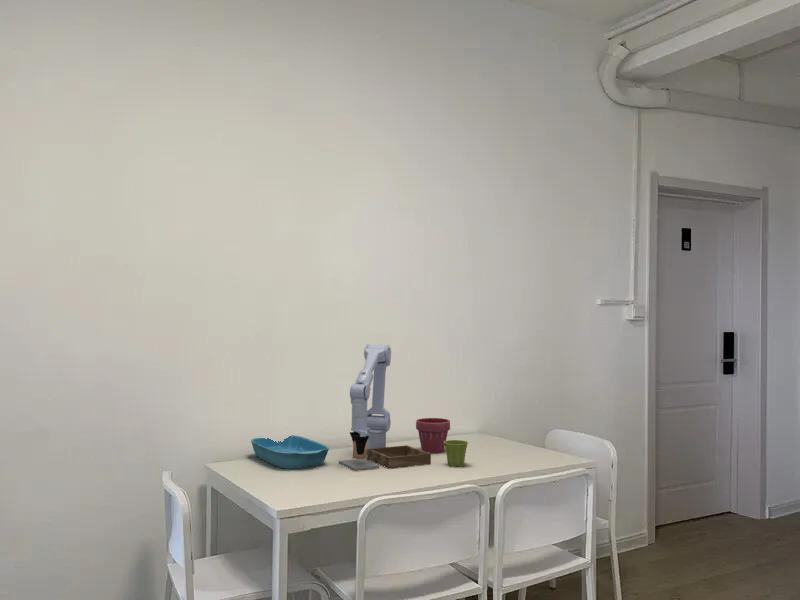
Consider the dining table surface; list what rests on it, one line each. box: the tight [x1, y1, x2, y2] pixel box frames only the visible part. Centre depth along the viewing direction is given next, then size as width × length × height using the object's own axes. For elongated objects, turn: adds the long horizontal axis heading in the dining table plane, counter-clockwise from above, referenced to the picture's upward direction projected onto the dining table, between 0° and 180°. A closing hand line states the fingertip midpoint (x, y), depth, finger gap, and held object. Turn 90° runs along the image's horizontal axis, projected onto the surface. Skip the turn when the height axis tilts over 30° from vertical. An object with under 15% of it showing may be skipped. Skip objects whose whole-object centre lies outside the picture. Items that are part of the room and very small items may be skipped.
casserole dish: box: [250, 434, 330, 470], centre depth 278 cm, size 37×22×7 cm, turn 35°
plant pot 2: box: [444, 439, 469, 467], centre depth 275 cm, size 9×9×9 cm
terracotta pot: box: [352, 440, 367, 460], centre depth 270 cm, size 5×5×6 cm
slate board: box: [338, 458, 380, 472], centre depth 270 cm, size 14×10×1 cm
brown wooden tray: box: [366, 445, 432, 469], centre depth 279 cm, size 18×18×4 cm
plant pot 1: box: [415, 417, 451, 454], centre depth 300 cm, size 14×14×13 cm
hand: (358, 452), depth 270 cm, fingers closed on terracotta pot, 5 cm apart
